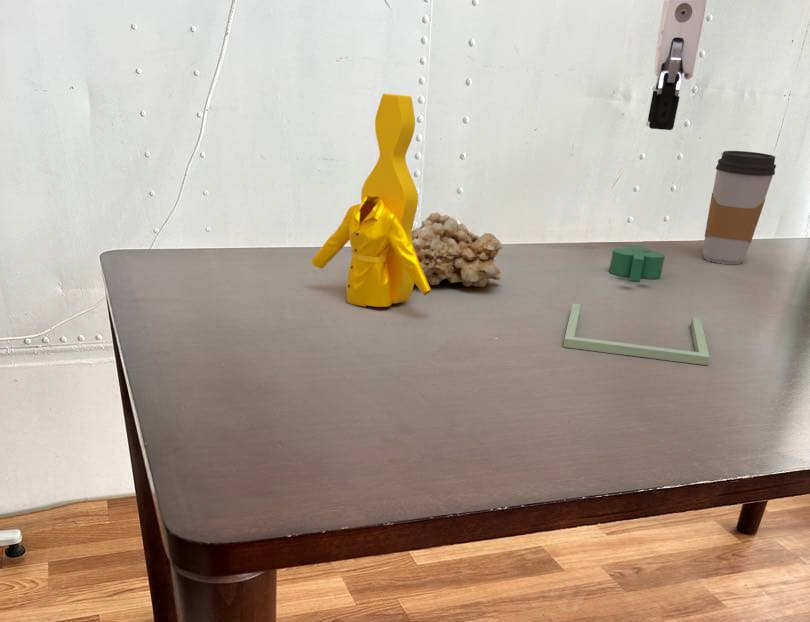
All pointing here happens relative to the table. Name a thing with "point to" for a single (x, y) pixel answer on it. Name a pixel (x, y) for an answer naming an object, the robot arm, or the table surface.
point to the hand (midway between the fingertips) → (659, 125)
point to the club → (636, 263)
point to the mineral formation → (455, 252)
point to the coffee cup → (736, 204)
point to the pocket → (639, 350)
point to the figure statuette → (383, 218)
